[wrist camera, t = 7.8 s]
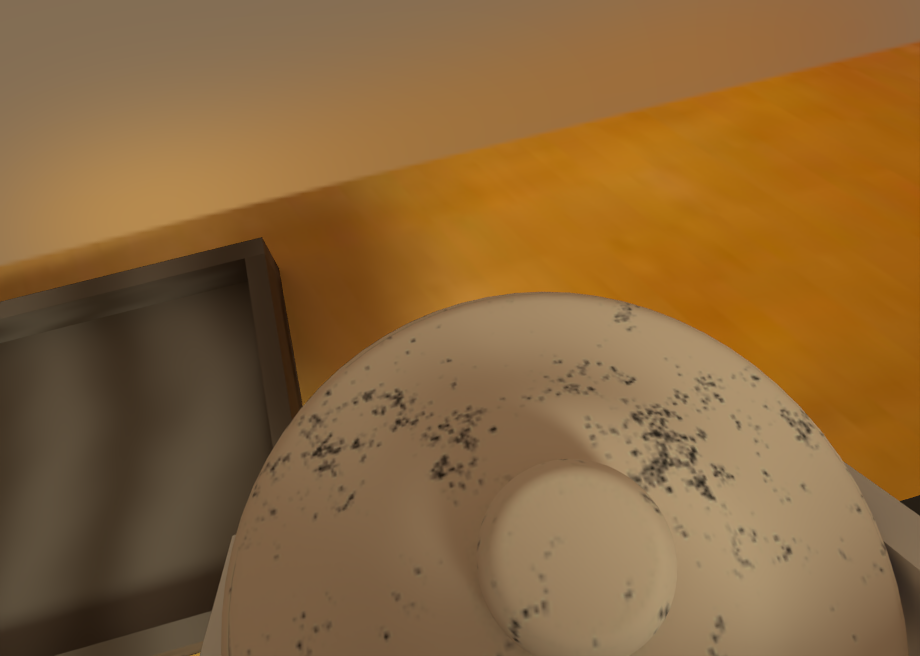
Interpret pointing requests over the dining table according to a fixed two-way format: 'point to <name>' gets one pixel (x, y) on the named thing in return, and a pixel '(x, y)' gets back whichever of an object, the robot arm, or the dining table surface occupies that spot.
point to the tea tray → (135, 448)
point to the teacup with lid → (556, 501)
